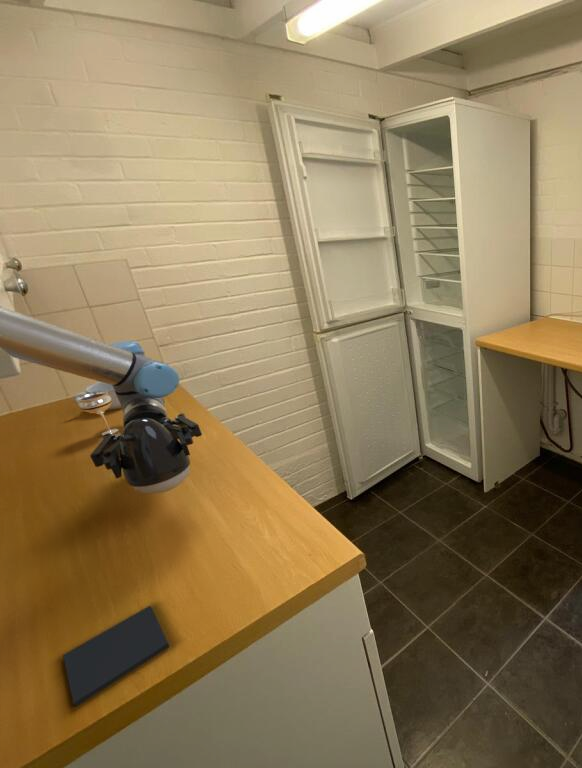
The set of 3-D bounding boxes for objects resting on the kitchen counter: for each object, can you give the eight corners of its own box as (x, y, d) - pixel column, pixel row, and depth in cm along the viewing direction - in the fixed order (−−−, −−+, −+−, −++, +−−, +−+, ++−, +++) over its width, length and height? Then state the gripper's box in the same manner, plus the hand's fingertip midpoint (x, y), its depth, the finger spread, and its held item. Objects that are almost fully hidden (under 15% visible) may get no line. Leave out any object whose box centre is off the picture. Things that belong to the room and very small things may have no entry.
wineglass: (127, 424, 125) (110, 388, 120) (123, 434, 120) (105, 396, 115) (98, 431, 122) (79, 394, 117) (92, 441, 117) (72, 403, 112)
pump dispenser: (120, 506, 79) (85, 437, 73) (152, 474, 88) (123, 411, 82) (180, 497, 81) (151, 429, 75) (205, 467, 90) (180, 404, 84)
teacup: (137, 396, 144) (128, 375, 141) (139, 406, 137) (129, 384, 134) (83, 410, 136) (71, 387, 133) (82, 421, 128) (69, 397, 125)
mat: (76, 708, 53) (72, 703, 53) (65, 659, 59) (62, 655, 59) (170, 647, 60) (167, 643, 60) (152, 609, 66) (150, 605, 66)
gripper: (209, 417, 102) (226, 454, 86) (86, 453, 89) (79, 503, 73) (199, 390, 99) (215, 422, 83) (70, 422, 86) (60, 467, 70)
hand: (152, 460), depth 78 cm, fingers closed on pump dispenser, 10 cm apart
